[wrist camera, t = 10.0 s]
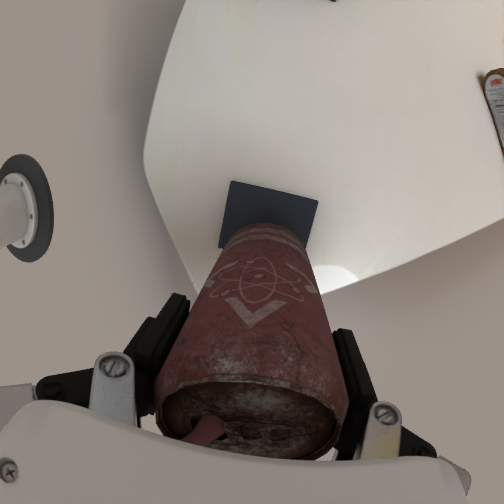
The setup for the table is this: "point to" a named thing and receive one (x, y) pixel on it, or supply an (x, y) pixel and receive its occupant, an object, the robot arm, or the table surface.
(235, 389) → the can
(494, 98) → the tin
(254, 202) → the mat
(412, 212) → the table surface
